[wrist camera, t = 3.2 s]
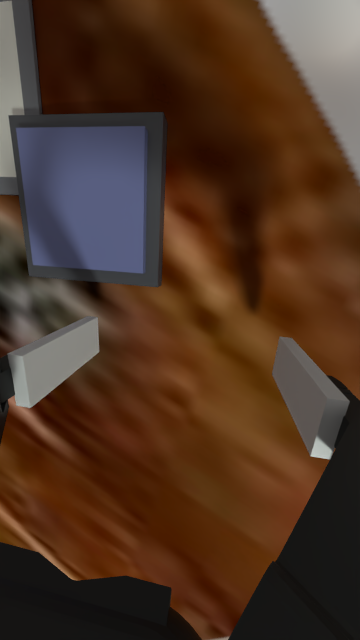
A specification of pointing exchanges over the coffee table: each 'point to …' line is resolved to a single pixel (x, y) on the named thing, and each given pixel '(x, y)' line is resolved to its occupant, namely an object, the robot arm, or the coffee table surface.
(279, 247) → the coffee table surface
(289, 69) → the coffee table surface
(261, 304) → the coffee table surface
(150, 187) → the ink pad
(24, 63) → the grey picture frame
